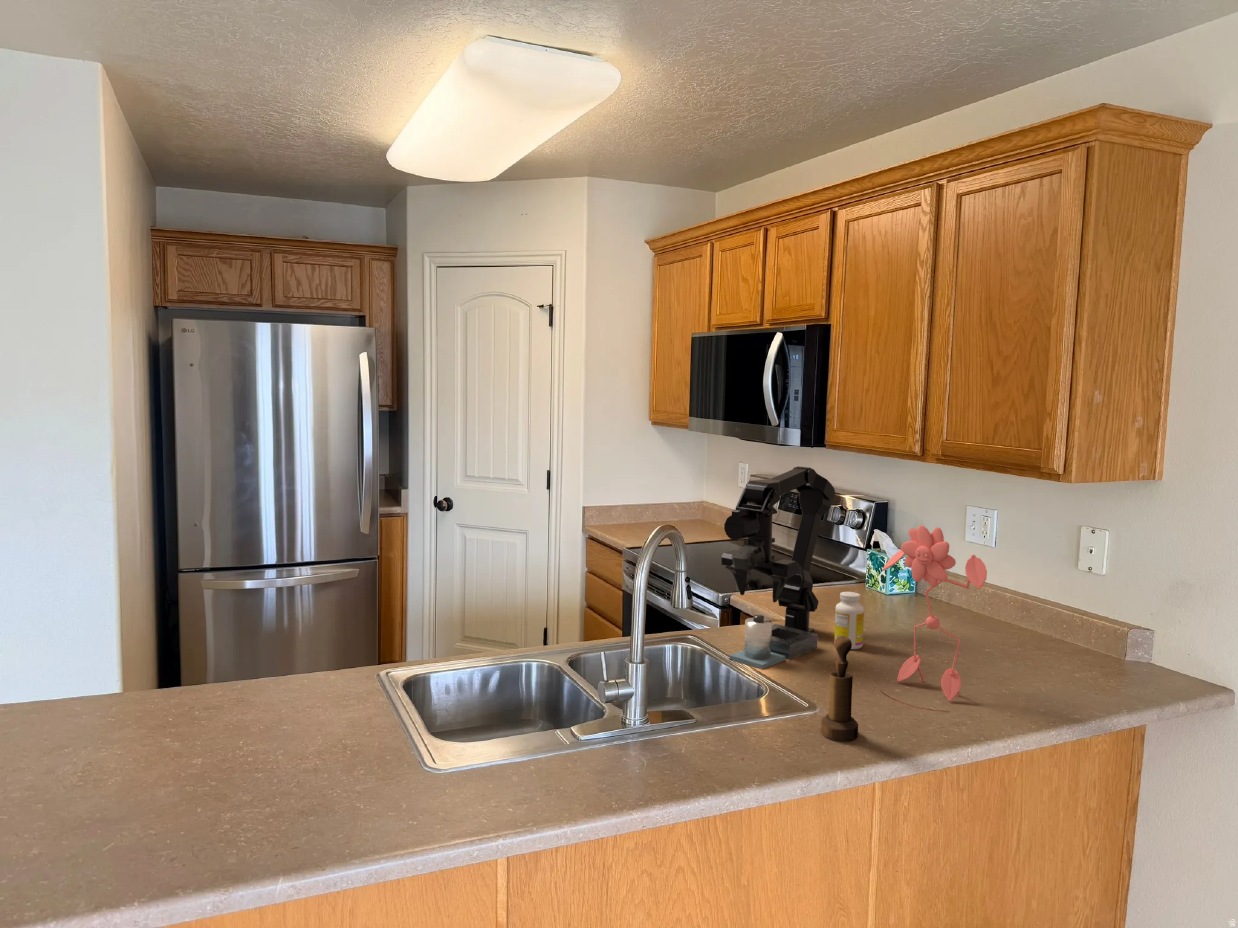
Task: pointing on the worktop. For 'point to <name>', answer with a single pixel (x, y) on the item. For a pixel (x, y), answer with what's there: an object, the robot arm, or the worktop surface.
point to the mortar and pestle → (840, 698)
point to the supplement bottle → (850, 619)
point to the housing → (792, 641)
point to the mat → (757, 663)
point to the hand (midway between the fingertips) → (758, 598)
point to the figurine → (930, 564)
